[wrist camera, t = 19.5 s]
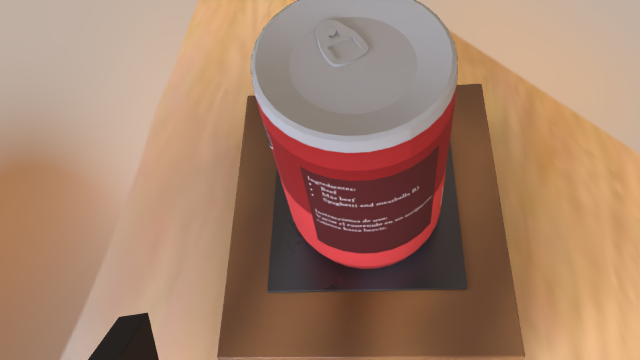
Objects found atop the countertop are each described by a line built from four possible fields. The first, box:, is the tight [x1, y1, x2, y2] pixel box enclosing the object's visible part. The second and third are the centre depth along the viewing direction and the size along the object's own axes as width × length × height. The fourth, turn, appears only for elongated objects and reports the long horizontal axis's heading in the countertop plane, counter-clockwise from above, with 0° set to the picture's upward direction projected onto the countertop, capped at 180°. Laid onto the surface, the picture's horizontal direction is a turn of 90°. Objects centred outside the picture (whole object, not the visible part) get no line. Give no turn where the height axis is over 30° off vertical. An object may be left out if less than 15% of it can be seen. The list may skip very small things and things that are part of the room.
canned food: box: [251, 0, 458, 269], centre depth 26 cm, size 8×8×11 cm
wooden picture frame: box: [217, 84, 525, 360], centre depth 33 cm, size 14×16×4 cm
